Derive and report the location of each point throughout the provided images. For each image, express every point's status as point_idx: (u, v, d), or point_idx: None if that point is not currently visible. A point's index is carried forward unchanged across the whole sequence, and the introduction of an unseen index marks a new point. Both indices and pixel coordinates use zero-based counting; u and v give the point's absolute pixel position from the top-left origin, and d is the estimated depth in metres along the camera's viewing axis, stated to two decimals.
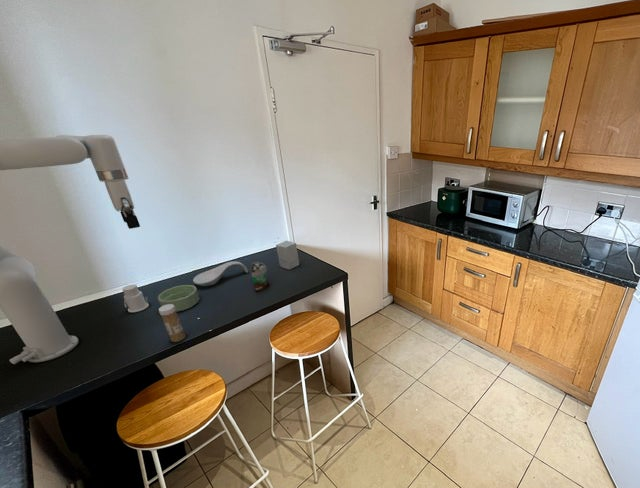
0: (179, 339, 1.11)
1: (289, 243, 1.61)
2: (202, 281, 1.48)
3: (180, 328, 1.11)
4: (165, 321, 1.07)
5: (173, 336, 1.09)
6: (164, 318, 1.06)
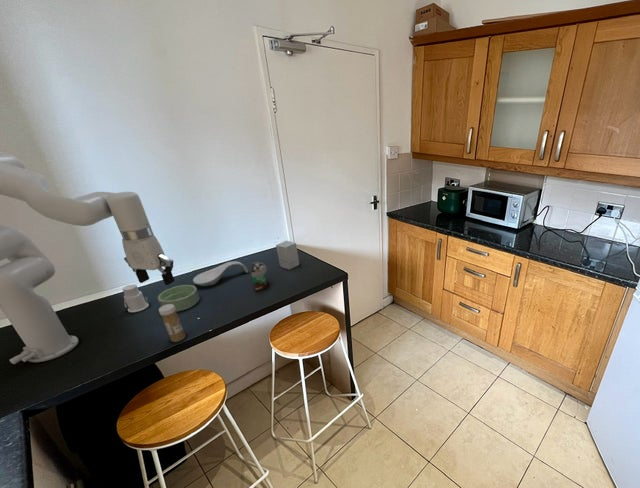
0: (179, 339, 1.11)
1: (289, 243, 1.61)
2: (202, 281, 1.48)
3: (180, 328, 1.11)
4: (165, 321, 1.07)
5: (173, 336, 1.09)
6: (164, 318, 1.06)
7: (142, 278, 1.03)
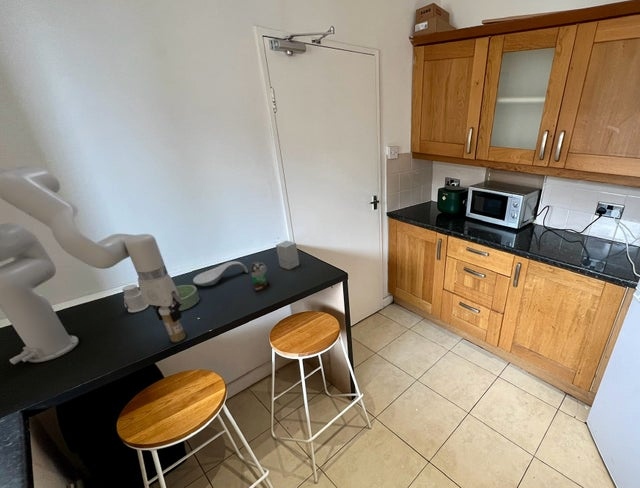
0: (179, 339, 1.11)
1: (289, 243, 1.61)
2: (202, 281, 1.48)
3: (180, 328, 1.11)
4: (165, 321, 1.07)
5: (173, 336, 1.09)
6: (164, 318, 1.06)
7: None
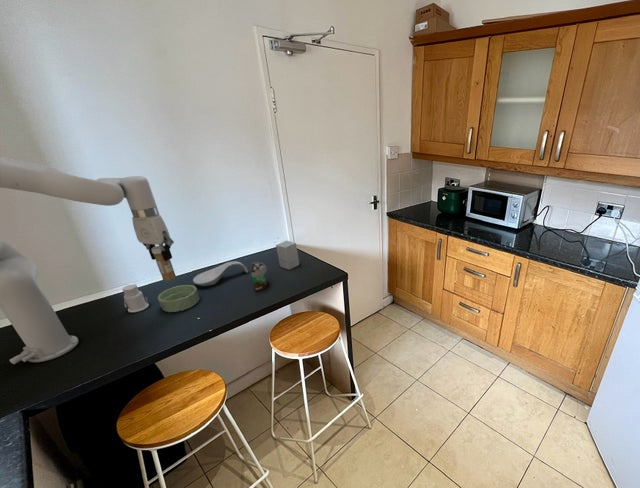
0: (170, 278, 1.21)
1: (289, 243, 1.61)
2: (202, 281, 1.48)
3: (171, 268, 1.21)
4: (157, 260, 1.17)
5: (164, 274, 1.20)
6: (156, 257, 1.17)
7: None
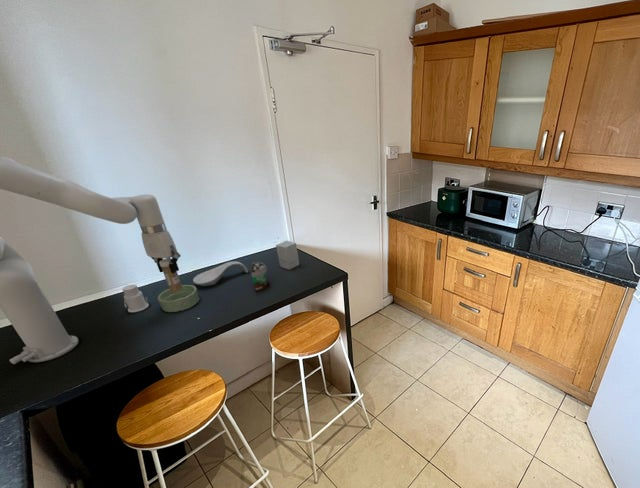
0: (177, 289, 1.28)
1: (289, 243, 1.61)
2: (202, 281, 1.48)
3: (178, 280, 1.28)
4: (165, 272, 1.24)
5: (171, 286, 1.27)
6: (164, 269, 1.23)
7: None
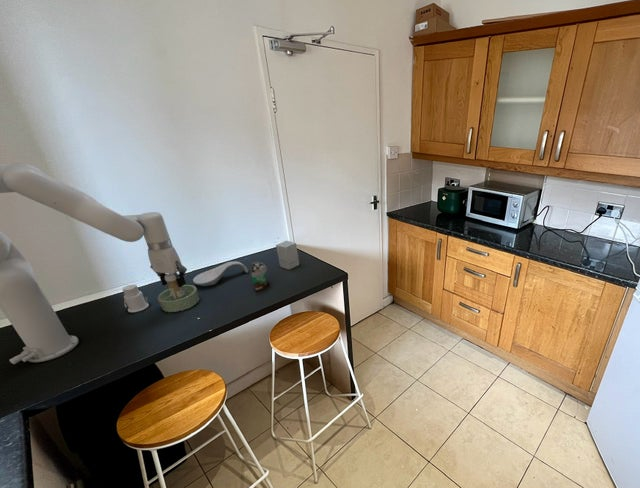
0: None
1: (289, 243, 1.61)
2: (202, 281, 1.48)
3: (182, 293, 1.31)
4: (170, 286, 1.27)
5: None
6: (169, 284, 1.26)
7: (165, 281, 1.28)
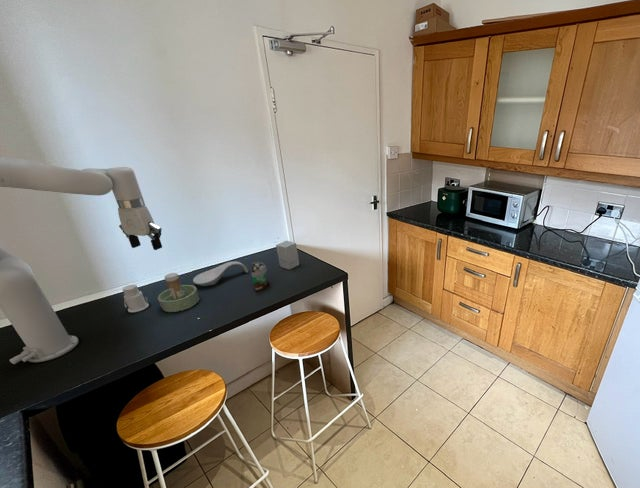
0: None
1: (289, 243, 1.61)
2: (202, 281, 1.48)
3: (182, 293, 1.31)
4: (170, 286, 1.27)
5: None
6: (169, 284, 1.26)
7: (134, 244, 1.19)
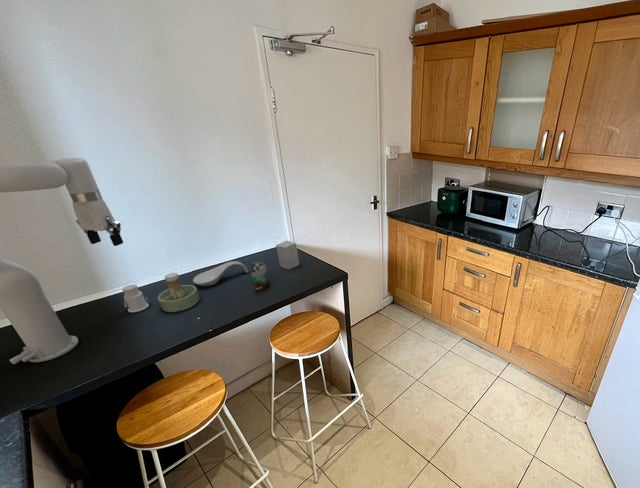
0: None
1: (289, 243, 1.61)
2: (202, 281, 1.48)
3: (182, 293, 1.31)
4: (170, 286, 1.27)
5: None
6: (169, 284, 1.26)
7: (93, 239, 1.13)
